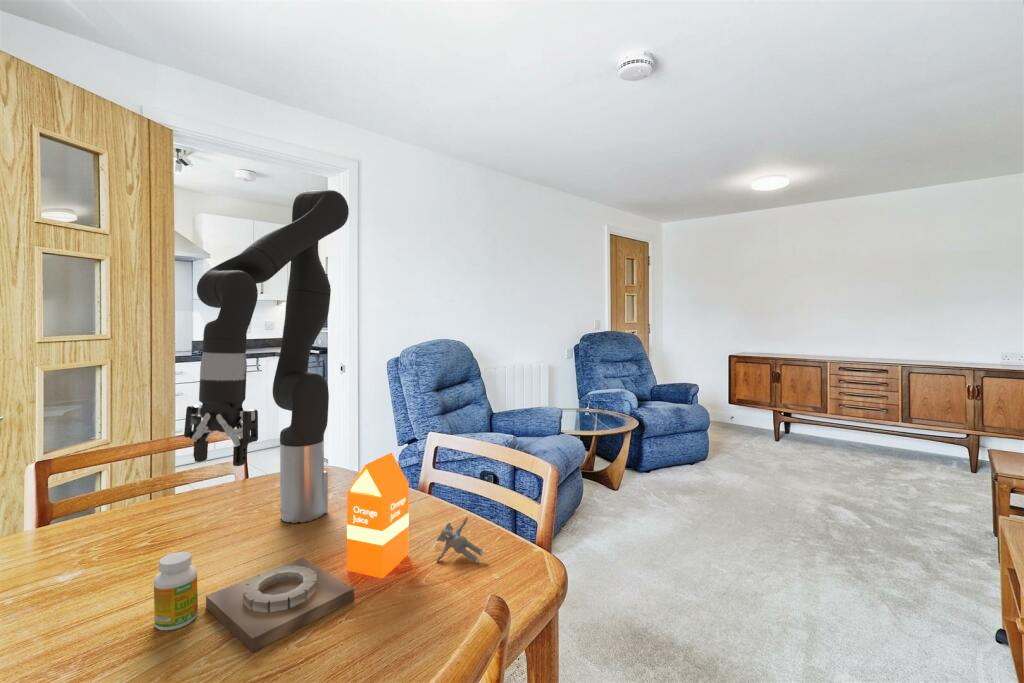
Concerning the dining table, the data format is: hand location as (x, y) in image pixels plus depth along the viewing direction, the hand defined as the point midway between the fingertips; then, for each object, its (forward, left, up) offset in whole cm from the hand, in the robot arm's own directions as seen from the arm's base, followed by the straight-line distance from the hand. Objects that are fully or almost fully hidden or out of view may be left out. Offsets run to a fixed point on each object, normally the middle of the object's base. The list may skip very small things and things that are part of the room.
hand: (219, 463), depth 92 cm
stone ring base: (0, +23, -18) cm, 29 cm away
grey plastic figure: (-30, +34, -19) cm, 49 cm away
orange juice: (-18, +24, -19) cm, 35 cm away
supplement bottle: (+12, +15, -19) cm, 27 cm away
